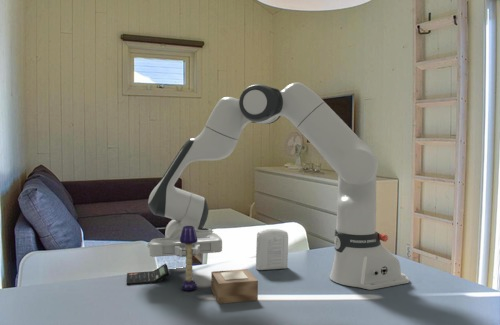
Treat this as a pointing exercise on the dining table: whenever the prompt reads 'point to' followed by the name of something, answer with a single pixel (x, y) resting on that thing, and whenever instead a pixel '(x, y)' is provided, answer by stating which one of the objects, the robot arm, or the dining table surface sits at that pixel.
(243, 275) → the cardboard box
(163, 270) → the calculator
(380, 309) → the dining table surface
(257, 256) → the white upright block
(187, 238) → the toy lamp
